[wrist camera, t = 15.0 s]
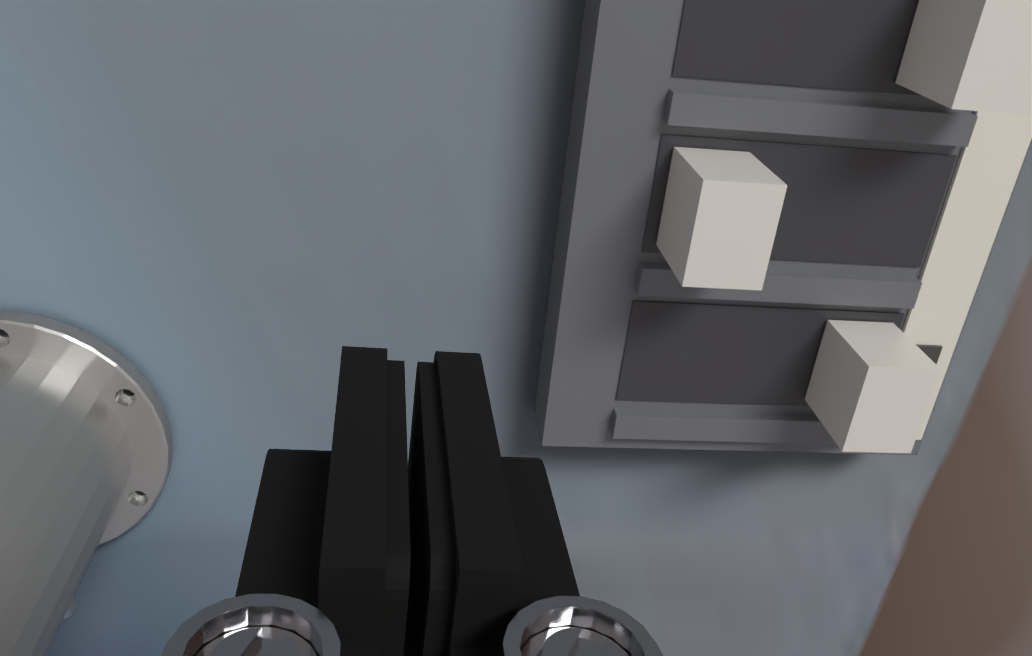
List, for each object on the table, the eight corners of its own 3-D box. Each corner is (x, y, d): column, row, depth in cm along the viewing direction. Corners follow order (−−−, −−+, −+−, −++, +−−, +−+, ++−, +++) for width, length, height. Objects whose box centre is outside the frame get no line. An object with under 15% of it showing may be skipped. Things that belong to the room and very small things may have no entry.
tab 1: (867, 401, 40) (910, 453, 37) (804, 399, 40) (841, 451, 36) (893, 322, 38) (941, 369, 35) (827, 319, 38) (869, 366, 34)
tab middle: (728, 248, 36) (761, 290, 32) (656, 244, 36) (682, 286, 32) (749, 151, 34) (787, 185, 31) (673, 146, 34) (703, 179, 30)
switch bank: (887, 419, 45) (923, 462, 42) (534, 409, 42) (543, 453, 39) (1067, -109, 34) (1134, -106, 31) (605, -162, 32) (626, -164, 28)
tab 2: (969, 88, 34) (1033, 115, 30) (895, 82, 33) (951, 109, 30) (1005, -24, 32) (1078, -9, 28) (927, -31, 32) (991, -18, 28)
